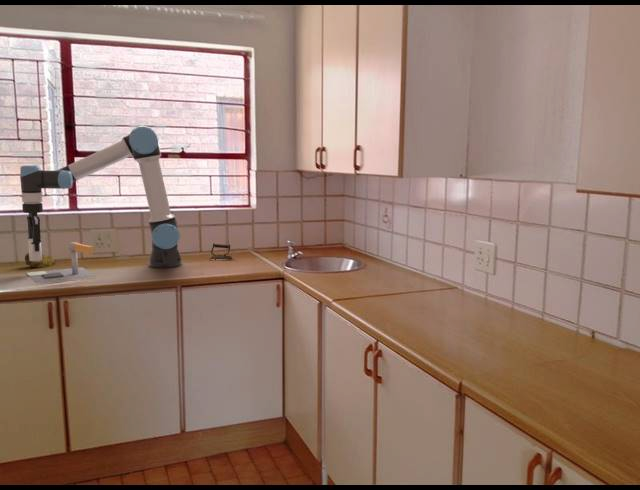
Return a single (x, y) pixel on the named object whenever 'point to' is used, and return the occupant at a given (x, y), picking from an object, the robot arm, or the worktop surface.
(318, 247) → the worktop surface
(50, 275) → the white stand
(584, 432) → the worktop surface
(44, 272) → the pad
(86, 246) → the orange bar
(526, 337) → the worktop surface
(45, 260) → the potato
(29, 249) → the plug
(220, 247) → the clothes iron
